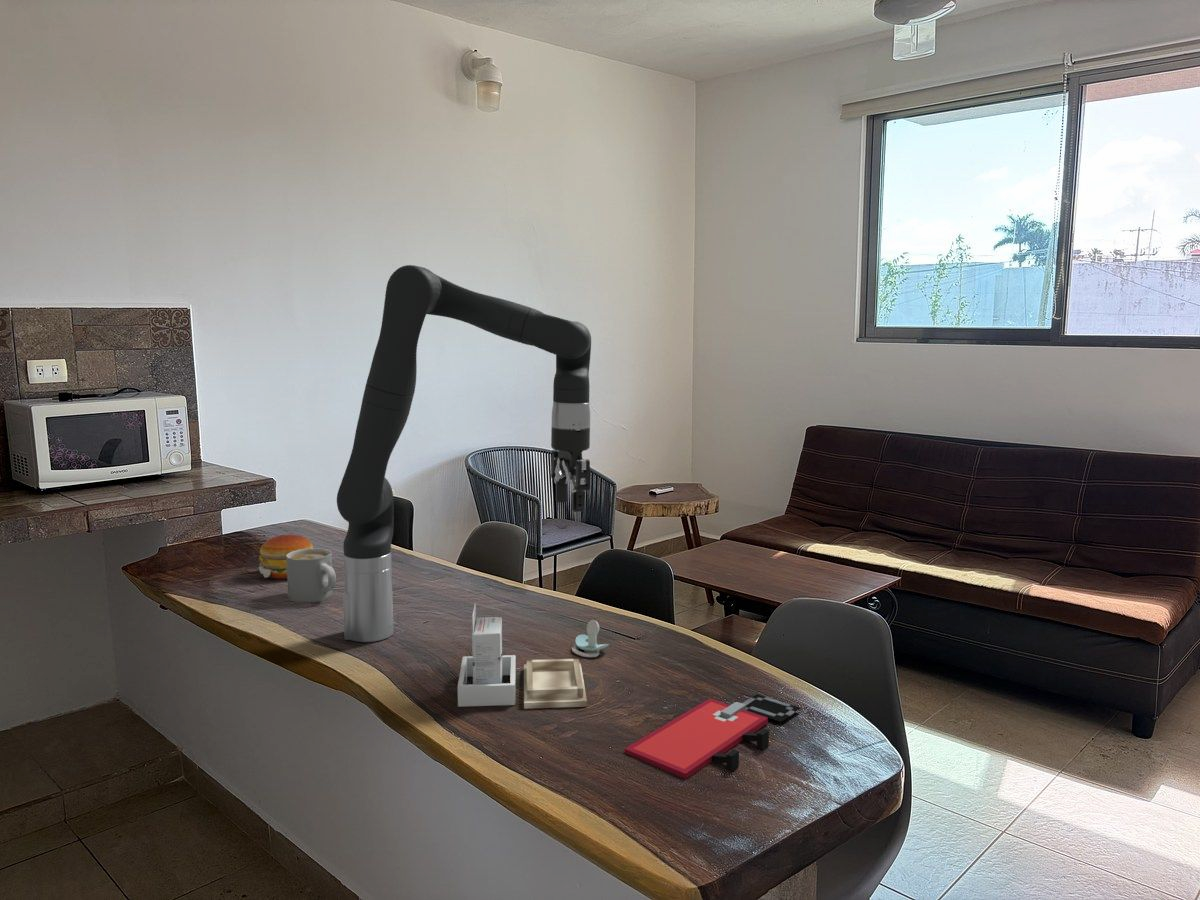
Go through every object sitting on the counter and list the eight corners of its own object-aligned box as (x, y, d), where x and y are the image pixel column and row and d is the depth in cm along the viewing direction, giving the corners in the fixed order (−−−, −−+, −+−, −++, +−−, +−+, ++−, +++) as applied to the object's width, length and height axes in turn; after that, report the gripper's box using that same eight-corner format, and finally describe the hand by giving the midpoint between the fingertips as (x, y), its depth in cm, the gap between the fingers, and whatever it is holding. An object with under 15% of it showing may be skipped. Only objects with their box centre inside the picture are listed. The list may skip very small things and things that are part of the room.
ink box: (501, 699, 147) (500, 616, 144) (472, 700, 146) (471, 617, 144) (502, 679, 155) (502, 600, 153) (475, 679, 155) (474, 600, 152)
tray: (524, 708, 143) (523, 694, 143) (523, 669, 159) (523, 656, 159) (586, 706, 144) (587, 692, 144) (580, 668, 160) (580, 655, 160)
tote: (457, 706, 144) (457, 686, 143) (463, 674, 157) (462, 656, 156) (515, 704, 145) (514, 685, 144) (515, 673, 157) (515, 655, 157)
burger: (327, 572, 219) (325, 533, 217) (282, 585, 208) (280, 545, 206) (292, 563, 226) (290, 526, 224) (247, 576, 215) (244, 537, 213)
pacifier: (590, 662, 163) (612, 653, 167) (589, 631, 162) (612, 623, 166) (564, 651, 169) (587, 643, 173) (564, 621, 167) (586, 613, 172)
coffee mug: (280, 595, 200) (278, 553, 199) (321, 586, 207) (319, 545, 206) (306, 609, 191) (304, 565, 189) (348, 599, 198) (346, 557, 196)
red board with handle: (811, 716, 142) (733, 691, 151) (811, 700, 141) (733, 676, 151) (707, 792, 119) (624, 757, 129) (707, 773, 119) (624, 739, 129)
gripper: (539, 421, 172) (538, 500, 175) (566, 430, 160) (565, 515, 162) (574, 420, 175) (573, 498, 178) (603, 429, 163) (601, 512, 165)
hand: (569, 506), depth 170 cm, fingers open, 8 cm apart
